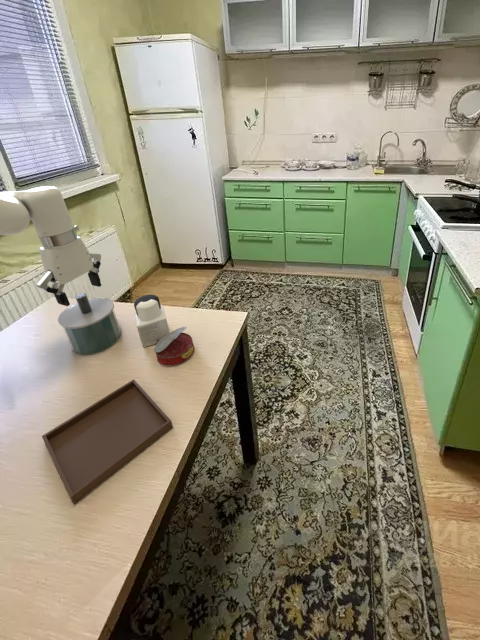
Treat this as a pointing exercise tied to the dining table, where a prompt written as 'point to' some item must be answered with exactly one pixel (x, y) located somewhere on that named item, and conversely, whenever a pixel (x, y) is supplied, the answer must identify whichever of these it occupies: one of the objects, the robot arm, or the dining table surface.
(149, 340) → the container
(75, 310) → the lid
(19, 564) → the dining table surface
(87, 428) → the tray
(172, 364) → the canned food
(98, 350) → the canister
